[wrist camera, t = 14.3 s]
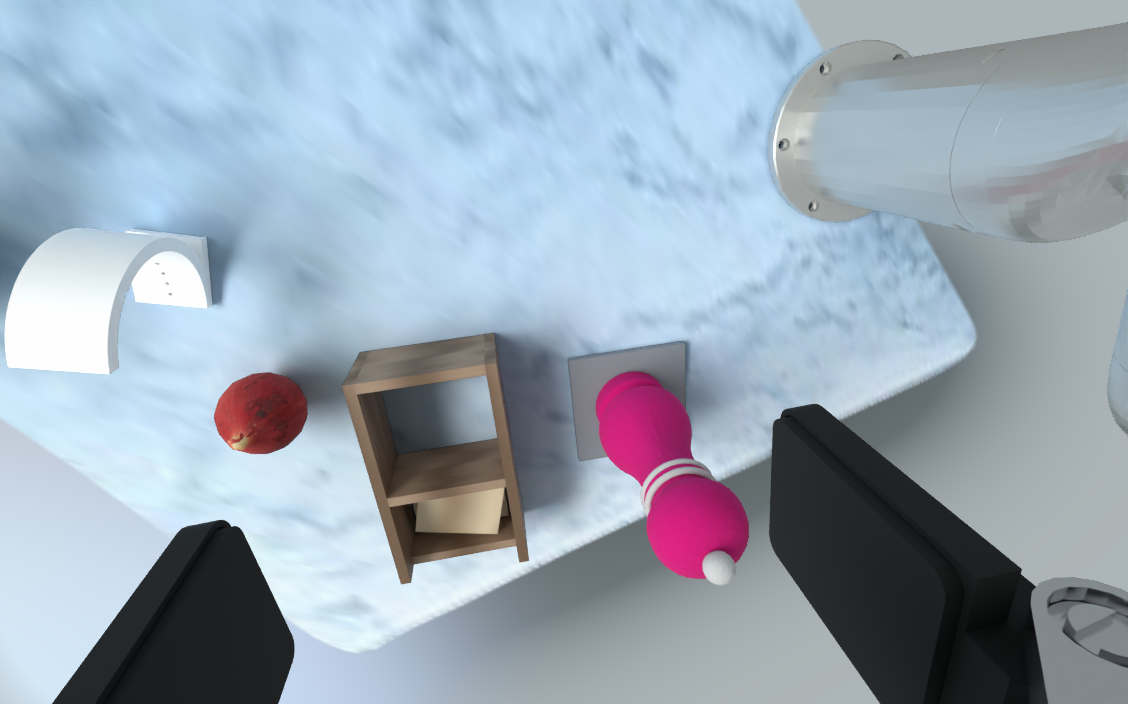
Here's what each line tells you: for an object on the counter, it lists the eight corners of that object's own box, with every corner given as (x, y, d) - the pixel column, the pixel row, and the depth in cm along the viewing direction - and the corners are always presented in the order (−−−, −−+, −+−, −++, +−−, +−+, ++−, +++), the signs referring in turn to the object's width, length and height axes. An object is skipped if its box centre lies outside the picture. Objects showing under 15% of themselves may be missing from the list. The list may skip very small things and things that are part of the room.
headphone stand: (142, 298, 38) (7, 367, 27) (130, 212, 36) (-21, 250, 25) (213, 305, 39) (109, 374, 28) (206, 222, 37) (91, 262, 26)
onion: (271, 342, 41) (226, 388, 34) (334, 388, 43) (304, 441, 36) (224, 391, 42) (170, 447, 35) (288, 434, 44) (250, 496, 37)
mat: (682, 341, 46) (685, 343, 45) (683, 439, 50) (686, 443, 49) (567, 358, 45) (568, 361, 44) (578, 457, 49) (579, 461, 48)
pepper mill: (681, 373, 46) (811, 534, 28) (654, 444, 49) (758, 633, 31) (603, 358, 45) (687, 517, 27) (579, 431, 47) (642, 624, 29)
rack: (493, 332, 43) (495, 362, 38) (523, 513, 51) (528, 560, 45) (359, 352, 42) (341, 386, 37) (409, 533, 50) (401, 584, 44)
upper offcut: (503, 472, 47) (504, 485, 45) (496, 520, 49) (497, 534, 47) (421, 468, 46) (419, 481, 44) (417, 517, 47) (415, 531, 46)
